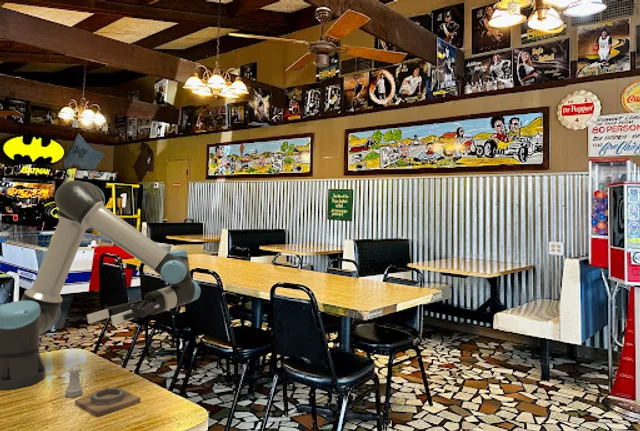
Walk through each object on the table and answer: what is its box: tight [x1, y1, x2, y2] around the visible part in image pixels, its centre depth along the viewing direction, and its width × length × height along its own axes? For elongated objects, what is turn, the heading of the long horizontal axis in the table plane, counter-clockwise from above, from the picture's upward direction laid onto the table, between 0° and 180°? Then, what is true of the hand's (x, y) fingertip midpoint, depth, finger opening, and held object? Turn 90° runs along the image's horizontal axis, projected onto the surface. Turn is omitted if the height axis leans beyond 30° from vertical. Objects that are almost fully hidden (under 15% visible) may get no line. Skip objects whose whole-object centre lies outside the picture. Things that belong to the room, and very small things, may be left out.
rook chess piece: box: [64, 364, 84, 398], centre depth 130 cm, size 4×4×8 cm
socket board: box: [74, 387, 141, 418], centre depth 125 cm, size 12×12×3 cm
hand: (99, 320), depth 137 cm, fingers open, 13 cm apart
